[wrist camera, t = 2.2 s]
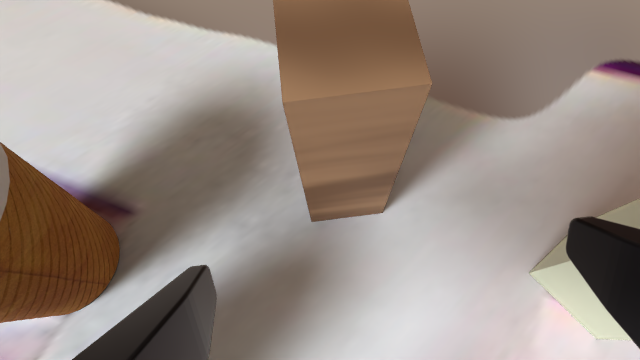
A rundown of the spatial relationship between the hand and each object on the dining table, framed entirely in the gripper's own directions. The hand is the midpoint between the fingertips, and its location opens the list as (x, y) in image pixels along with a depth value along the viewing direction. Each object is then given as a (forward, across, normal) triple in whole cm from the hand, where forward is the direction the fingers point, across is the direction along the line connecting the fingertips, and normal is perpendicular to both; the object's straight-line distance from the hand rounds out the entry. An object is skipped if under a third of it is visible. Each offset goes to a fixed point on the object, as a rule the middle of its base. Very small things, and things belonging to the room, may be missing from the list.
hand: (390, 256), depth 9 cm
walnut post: (+14, 0, +4) cm, 15 cm away
